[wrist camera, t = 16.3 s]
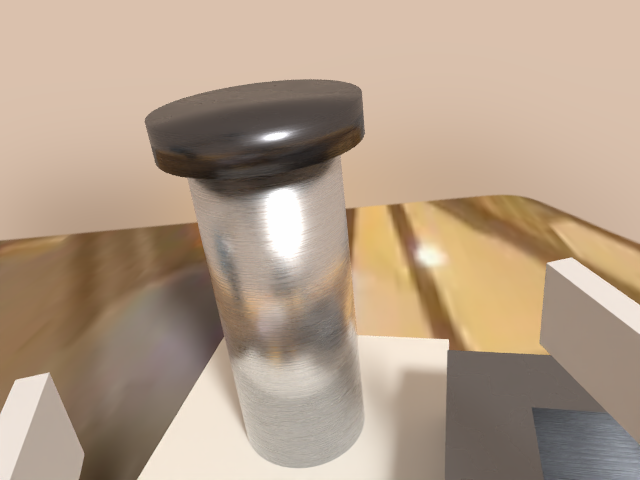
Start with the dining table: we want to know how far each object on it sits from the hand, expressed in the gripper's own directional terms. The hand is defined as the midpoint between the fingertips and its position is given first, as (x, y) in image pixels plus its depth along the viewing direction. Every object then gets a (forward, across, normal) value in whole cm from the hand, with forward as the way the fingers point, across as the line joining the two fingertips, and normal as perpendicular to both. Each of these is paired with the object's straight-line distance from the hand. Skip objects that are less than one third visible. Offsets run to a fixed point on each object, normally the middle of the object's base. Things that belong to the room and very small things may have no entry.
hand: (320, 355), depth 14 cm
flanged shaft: (+9, 0, -11) cm, 14 cm away
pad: (+9, 0, -12) cm, 15 cm away
